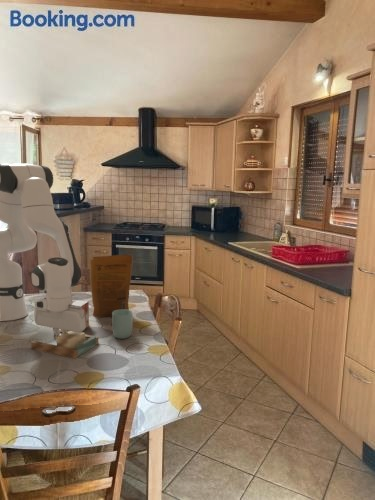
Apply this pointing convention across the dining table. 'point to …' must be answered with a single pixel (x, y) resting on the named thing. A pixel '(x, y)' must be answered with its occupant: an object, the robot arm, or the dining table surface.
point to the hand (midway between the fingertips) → (60, 339)
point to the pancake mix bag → (110, 283)
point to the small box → (85, 307)
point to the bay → (65, 351)
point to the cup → (122, 323)
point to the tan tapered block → (70, 339)
